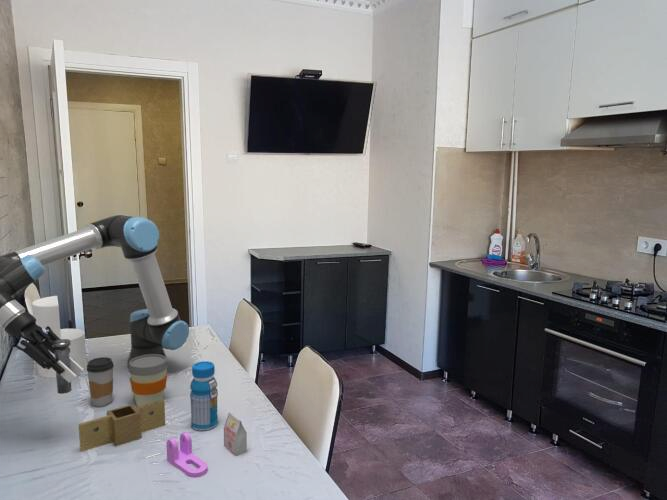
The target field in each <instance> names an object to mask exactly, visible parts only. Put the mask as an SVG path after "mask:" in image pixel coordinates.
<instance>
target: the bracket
mask: <svg viewBox="0 0 667 500" xmlns="http://www.w3.org/2000/svg"><path fill="white" fill-rule="evenodd" d="M192 441H193V440H192V436H191V434H190V433H189V432H187V431H186V432H183V433H181V434H180V435H179V442H178V441H177V439H176V438H174V437H171V438H170V439H168V440H167V441H166V461H167V462H168V463H170V464H171V465H172V466H174V467H175V468H177V469H178V470H179V471H181V472H182V473H184V474H185V475H187V477H189V478H192V479H193V478H200V477H203V476H204V475H206V474H207V473H208V471H209V468H208V467H209V466H208V465H209V464H208V463H207V462H205V461H204V460H203V459H202V458H200V457H198V456H197V455H195V454H194V453H193V444H192V443H193V442H192ZM178 443H179V444H178ZM179 449H180V450H179ZM190 464H191V465H192V466H191V465H190ZM193 466H194V467H193Z"/></svg>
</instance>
